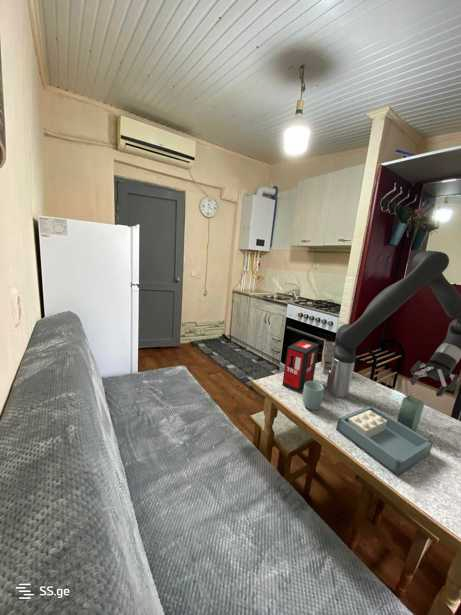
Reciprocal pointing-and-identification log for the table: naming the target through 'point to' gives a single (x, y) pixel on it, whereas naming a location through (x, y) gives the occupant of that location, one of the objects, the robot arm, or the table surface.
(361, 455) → the table surface
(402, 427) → the tray
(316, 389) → the cup
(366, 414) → the egg carton
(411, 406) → the tea tin
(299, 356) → the cleaning product box
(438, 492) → the table surface
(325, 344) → the coffee box
